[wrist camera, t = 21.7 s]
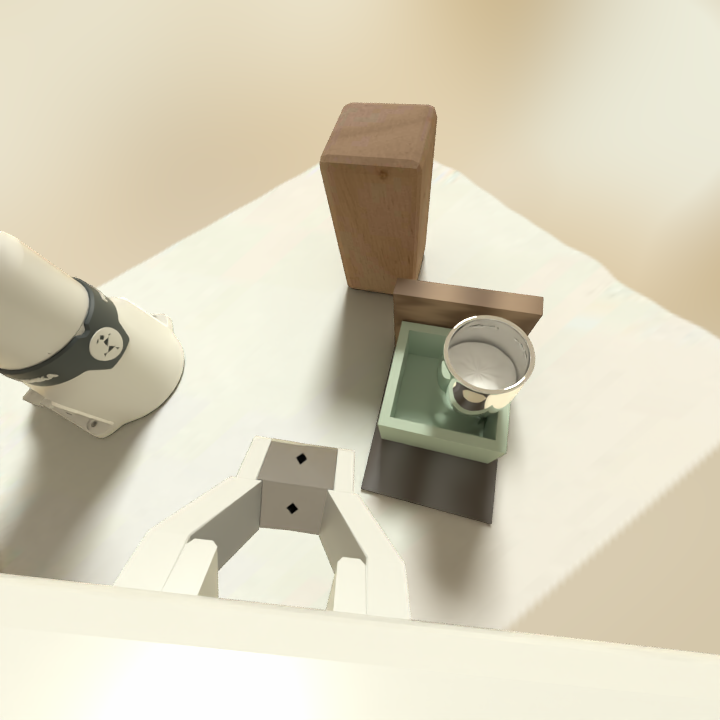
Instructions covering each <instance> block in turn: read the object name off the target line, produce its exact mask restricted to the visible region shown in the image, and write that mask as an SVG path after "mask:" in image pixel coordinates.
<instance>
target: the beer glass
mask: <svg viewBox="0 0 720 720" xmlns="http://www.w3.org/2000/svg"><path fill="white" fill-rule="evenodd" d="M534 365H535V352H534V348H533V345H532V343H531V341H530V339H529V338H528V336H527V335H526V334H525V333H524V331H523V330H521V329H520V328H519V327H518V326H517V325H515V324H514V323H512V322H510V321H508V320H506V319H503V318H500V317H496V316H490V315H480V316H474V317H470V318H467V319H465V320H463V321H461V322H459V323H458V324H457V325H456V326H454V327H453V328H452V330H451V331H450V332H449V334H448V335H447V338H446V340H445V343H444V345H443V348H442V350H441V352H440V355H439V358H438V361H437V365H436V371H435V386H436V393H435V394H434V396H433V398H432V402H431V412H432V415H433V418H434V420H435V421H436V423H437V424H438V425H439V426H440V427H441V428H443V429H447V430H452V431H456V432H461V433H465V434H468V433H471V432H473V431H475V430H476V429H478V428H479V427H480V425H481V424H482V423H483V421H484V418H485V417H488V416H490V415H492V414H494V413H496V412H498V411H500V410H501V409H503V408H504V407H505V406H506V405H507V404H509V403H510V402H511V401H512V400H513V398H514V397H515V396H516V395H517V394H518V392H519V391H520V389H521V388H522V387H523V385H524V383H525V382H526V381H527V380H528V379H529V377H530V376H531V374H532V372H533V369H534Z"/></svg>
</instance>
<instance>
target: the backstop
mask: <svg viewBox="0 0 720 720" xmlns="http://www.w3.org/2000/svg"><path fill="white" fill-rule="evenodd" d="M393 302H394V330H395V349H396V345H397V341H398V337H399V332H400V328H401V324H402V321H406V322H412V323H418V324H425V325H431V326H437V327H443V328H449V329H452V328H453V327H454V326H456V325H457V324H458V323H459V322H461V321H463V320H465V319H467V318H470V317H474V316H480V315H490V316H496V317H500V318H503V319H506V320H508V321H510V322H512V323H514V324H515V325H517V326H518V327H519V328H520V329H521V330H523V331H524V333H525V334H526V335H527V336H528V335H529V333H530V332H531V330H532V329H533V328H534V326H535V325H536V323H537V322H538V321H539V319H540V318H541V317H542V315H543V297H538V296H531V295H523V294H516V293H508V292H501V291H493V290H486V289H478V288H471V287H464V286H456V285H449V284H441V283H434V282H426V281H419V280H411V279H404V278H397V281H396V284H395V288H394V292H393ZM395 349H394V353H395ZM394 353H393V357H392V361H391V365H390V369H389V374H388V378H387V382H386V386H385V390H384V395H383V399H382V403H381V407H380V411H379V415H378V420H377V424H376V428H375V432H374V436H373V441H372V445H371V449H370V453H369V457H368V461H367V466H366V470H365V474H364V478H363V482H362V487H361V489H364V490H368V491H372V492H375V493H379V494H383V495H386V496H390V497H394V498H397V499H401V500H405V501H408V502H412V503H416V504H419V505H423V506H427V507H430V508H434V509H438V510H441V511H445V512H449V513H452V514H456V515H460V516H463V517H467V518H471V519H474V520H478V521H482V522H485V523H489V524H492V514H493V503H494V492H495V481H496V470H497V459H498V458H497V459H496V460H494V461H492V462H490V463H488V464H487V463H483V462H479V461H474V460H470V459H466V458H462V457H457V456H453V455H449V454H445V453H441V452H436V451H432V450H428V449H424V448H420V447H415V446H411V445H407V444H403V443H398V442H394V441H390V440H386V439H382V438H381V435H380V431H379V427H378V421H379V417H380V412H381V408H382V404H383V400H384V396H385V391H386V387H387V383H388V379H389V375H390V370H391V366H392V362H393V358H394Z"/></svg>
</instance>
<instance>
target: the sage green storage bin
mask: <svg viewBox="0 0 720 720" xmlns="http://www.w3.org/2000/svg"><path fill="white" fill-rule="evenodd" d="M451 330H452V329H449V328H443V327H437V326H431V325H425V324H418V323H412V322H406V321H402V324H401V328H400V332H399V337H398V341H397V345H396V349H395V353H394V358H393V362H392V366H391V370H390V375H389V379H388V383H387V387H386V391H385V396H384V400H383V404H382V408H381V412H380V417H379V421H378V427H379V431H380V435H381V438H382V439H386V440H390V441H394V442H398V443H403V444H407V445H411V446H415V447H420V448H424V449H428V450H432V451H436V452H441V453H445V454H449V455H453V456H457V457H462V458H466V459H470V460H474V461H479V462H483V463H487V464H488V463H490V462H492V461H494V460H496V459H497V458H499V457H501V456H503V455H505V454H506V449H507V437H508V425H509V413H510V403H509V404H507V405H506V406H505V407H504V408H503V409H501V410H500V411H498V412H496V413H494V414H492V415H490V416H488V417H485V418H484V421H483V423H482V424H481V425H480V427H479V428H478V429H476V430H475V431H473V432H471V433H468V434H465V433H461V432H456V431H452V430H447V429H443V428H441V427H440V426H439V425H438V424H437V423H436V421H435V420H434V418H433V415H432V412H431V402H432V398H433V396H434V394H435V393H436V386H435V371H436V365H437V361H438V358H439V355H440V352H441V350H442V348H443V345H444V343H445V340H446V338H447V335H448V334H449V332H450V331H451Z"/></svg>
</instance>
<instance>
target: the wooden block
mask: <svg viewBox="0 0 720 720" xmlns="http://www.w3.org/2000/svg"><path fill="white" fill-rule="evenodd" d="M436 124H437V115H436V112H435V108H434V107H433V106H430V105H417V104H385V103H384V104H383V103H350V104H347V105H345V106H344V108H343V110H342V112H341V114H340V116H339V118H338V121H337V123H336V125H335V127H334V129H333V131H332V134H331V136H330V138H329V140H328V142H327V145H326V147H325V149H324V151H323V153H322V156H321V159H320V170H321V174H322V178H323V182H324V187H325V191H326V195H327V199H328V204H329V208H330V212H331V216H332V221H333V225H334V229H335V233H336V237H337V242H338V246H339V250H340V254H341V259H342V263H343V267H344V271H345V276H346V280H347V284H348V286H349V287H351V288H354V289H360V290H367V291H373V292H380V293H387V294H393V292H394V288H395V284H396V281H397V278H404V279H411V280H417V279H418V275H419V271H420V267H421V263H422V259H423V254H424V250H425V244H426V233H427V222H428V211H429V201H430V190H431V179H432V168H433V157H434V145H435V135H436Z"/></svg>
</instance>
